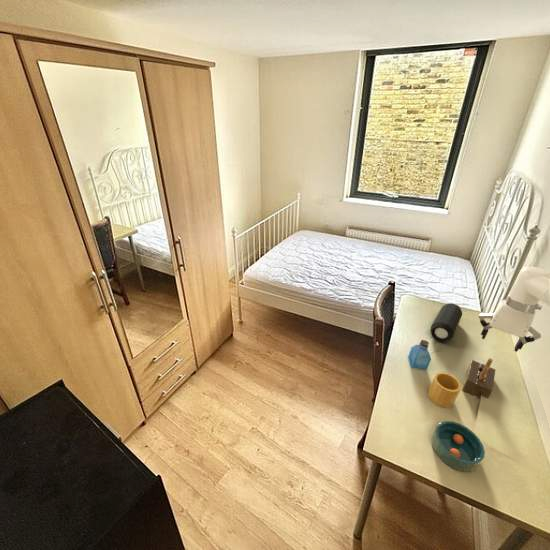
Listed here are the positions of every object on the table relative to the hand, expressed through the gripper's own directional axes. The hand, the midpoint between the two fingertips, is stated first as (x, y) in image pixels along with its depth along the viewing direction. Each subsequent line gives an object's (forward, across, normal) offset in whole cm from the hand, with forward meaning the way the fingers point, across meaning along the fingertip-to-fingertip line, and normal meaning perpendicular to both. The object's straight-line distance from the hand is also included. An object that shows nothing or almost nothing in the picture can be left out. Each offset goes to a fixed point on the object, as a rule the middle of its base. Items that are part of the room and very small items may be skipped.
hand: (499, 343), depth 103 cm
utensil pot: (+25, +10, +13) cm, 29 cm away
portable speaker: (+25, +18, -33) cm, 45 cm away
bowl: (+25, +1, +32) cm, 40 cm away
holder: (+25, 0, -4) cm, 25 cm away
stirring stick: (+25, 0, -1) cm, 25 cm away
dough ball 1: (+22, +1, +29) cm, 36 cm away
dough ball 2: (+22, +1, +35) cm, 41 cm away
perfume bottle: (+25, +22, 0) cm, 33 cm away
